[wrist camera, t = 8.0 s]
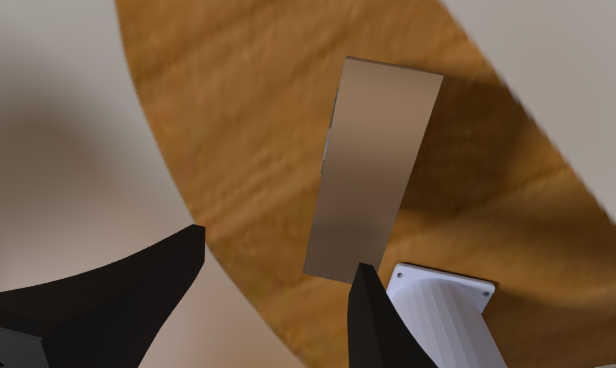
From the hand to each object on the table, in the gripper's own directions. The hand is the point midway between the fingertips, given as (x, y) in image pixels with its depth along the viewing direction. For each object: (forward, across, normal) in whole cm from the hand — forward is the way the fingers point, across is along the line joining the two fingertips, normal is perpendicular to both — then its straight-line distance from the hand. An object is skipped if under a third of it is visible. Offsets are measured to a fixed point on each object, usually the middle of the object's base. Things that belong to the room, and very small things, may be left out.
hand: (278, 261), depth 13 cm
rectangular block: (+7, -3, -4) cm, 8 cm away
